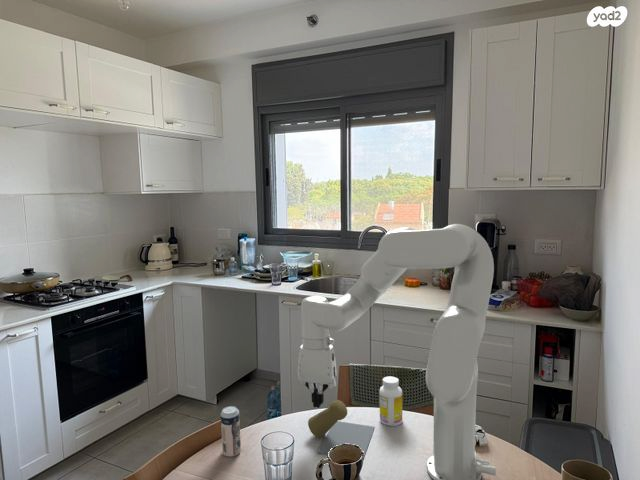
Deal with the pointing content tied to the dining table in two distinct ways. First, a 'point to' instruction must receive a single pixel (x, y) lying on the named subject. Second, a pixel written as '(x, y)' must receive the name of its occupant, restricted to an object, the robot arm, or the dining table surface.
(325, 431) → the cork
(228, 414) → the beer can
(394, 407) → the supplement bottle
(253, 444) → the dining table surface
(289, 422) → the dining table surface
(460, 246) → the robot arm
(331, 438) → the mat
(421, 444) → the dining table surface
